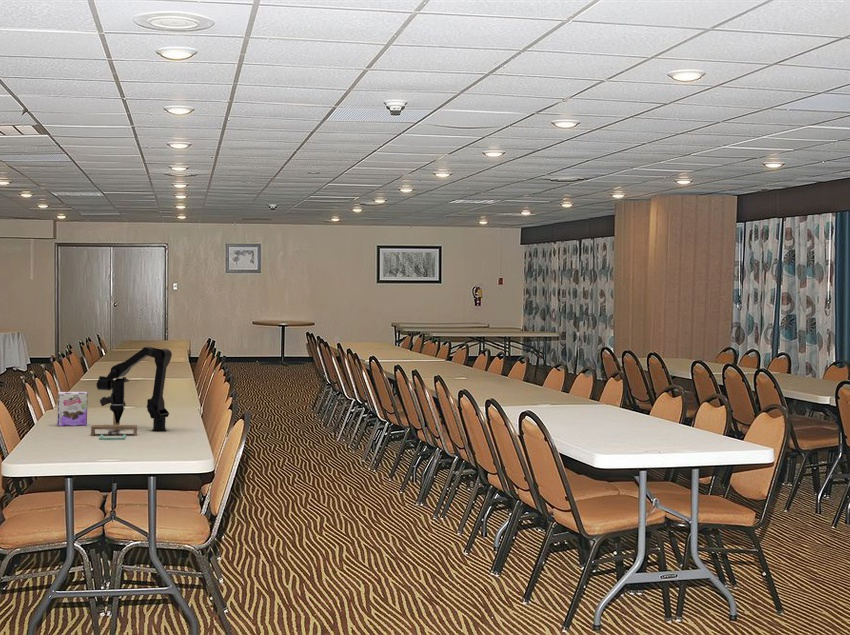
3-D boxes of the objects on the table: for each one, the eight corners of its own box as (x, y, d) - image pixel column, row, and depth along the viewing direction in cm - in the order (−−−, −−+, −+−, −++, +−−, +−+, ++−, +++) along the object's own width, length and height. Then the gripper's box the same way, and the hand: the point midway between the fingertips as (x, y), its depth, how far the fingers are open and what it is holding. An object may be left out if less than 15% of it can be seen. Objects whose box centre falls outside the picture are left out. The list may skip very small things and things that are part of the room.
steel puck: (108, 434, 460) (108, 431, 460) (110, 434, 464) (110, 431, 464) (117, 434, 460) (117, 431, 460) (119, 434, 464) (119, 431, 464)
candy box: (57, 426, 485) (57, 392, 484) (56, 424, 490) (57, 391, 490) (87, 425, 490) (87, 392, 489) (86, 424, 495) (87, 391, 495)
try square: (111, 427, 487) (111, 409, 487) (122, 427, 488) (122, 409, 488) (108, 433, 466) (108, 414, 465) (119, 433, 467) (119, 414, 467)
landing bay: (100, 436, 456) (100, 434, 456) (125, 436, 459) (125, 434, 459) (98, 439, 445) (99, 438, 445) (124, 439, 448) (124, 437, 448)
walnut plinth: (92, 433, 463) (92, 424, 463) (136, 433, 467) (136, 424, 467) (90, 435, 457) (91, 426, 457) (136, 435, 462) (136, 426, 462)
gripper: (102, 389, 492) (101, 420, 493) (99, 392, 474) (98, 425, 475) (125, 389, 495) (125, 420, 495) (123, 392, 477) (122, 425, 477)
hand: (117, 422), depth 486 cm, fingers closed on try square, 3 cm apart
